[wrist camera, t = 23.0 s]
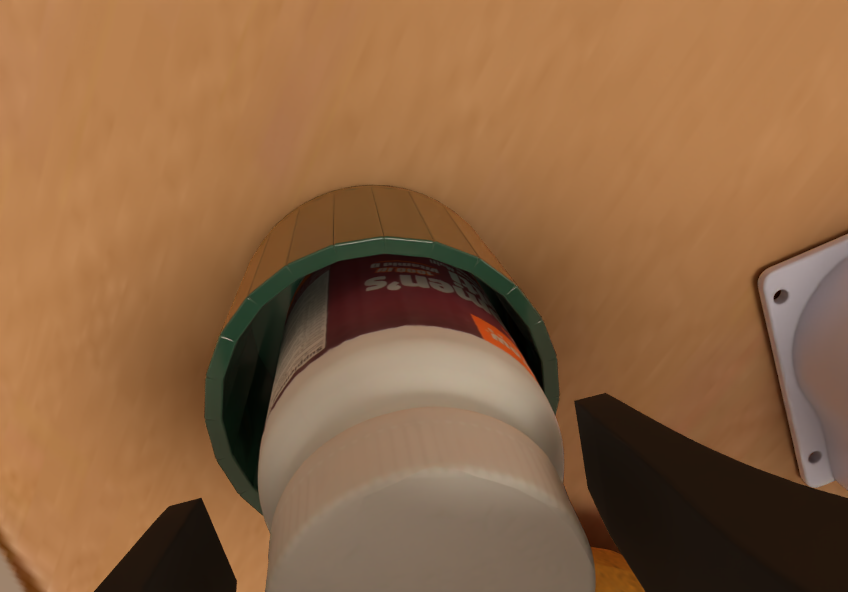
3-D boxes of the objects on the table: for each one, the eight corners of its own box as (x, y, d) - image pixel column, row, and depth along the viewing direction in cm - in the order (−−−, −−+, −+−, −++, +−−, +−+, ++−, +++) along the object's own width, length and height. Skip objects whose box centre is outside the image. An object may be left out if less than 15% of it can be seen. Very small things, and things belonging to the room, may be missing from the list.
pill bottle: (515, 268, 20) (708, 500, 10) (437, 432, 22) (530, 781, 11) (326, 196, 19) (313, 379, 8) (258, 378, 20) (176, 722, 10)
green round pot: (534, 366, 22) (600, 472, 17) (313, 462, 22) (304, 598, 17) (445, 139, 19) (489, 175, 14) (190, 252, 19) (131, 332, 14)
